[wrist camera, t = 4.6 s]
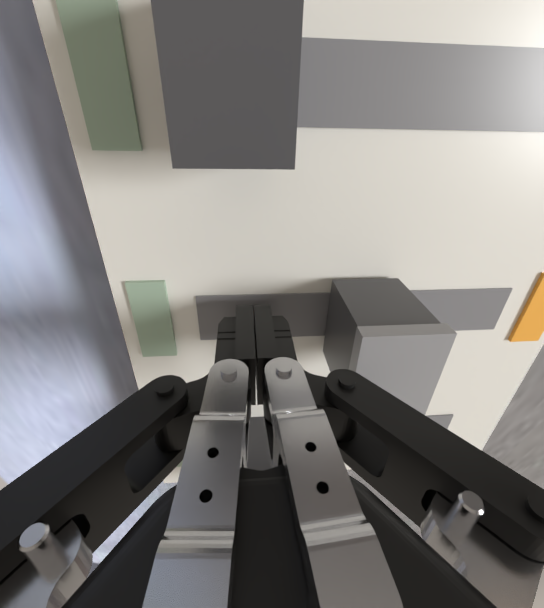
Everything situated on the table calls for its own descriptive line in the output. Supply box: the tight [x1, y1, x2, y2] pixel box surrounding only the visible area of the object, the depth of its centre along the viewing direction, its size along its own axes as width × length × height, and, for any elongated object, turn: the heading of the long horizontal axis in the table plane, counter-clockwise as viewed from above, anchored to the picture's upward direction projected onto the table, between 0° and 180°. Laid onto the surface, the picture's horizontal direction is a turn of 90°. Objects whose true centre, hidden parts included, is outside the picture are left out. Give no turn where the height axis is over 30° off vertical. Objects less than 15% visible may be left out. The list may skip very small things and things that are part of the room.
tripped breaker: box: [323, 278, 457, 415], centre depth 13 cm, size 3×4×4 cm
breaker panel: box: [32, 0, 544, 483], centre depth 15 cm, size 22×26×6 cm
